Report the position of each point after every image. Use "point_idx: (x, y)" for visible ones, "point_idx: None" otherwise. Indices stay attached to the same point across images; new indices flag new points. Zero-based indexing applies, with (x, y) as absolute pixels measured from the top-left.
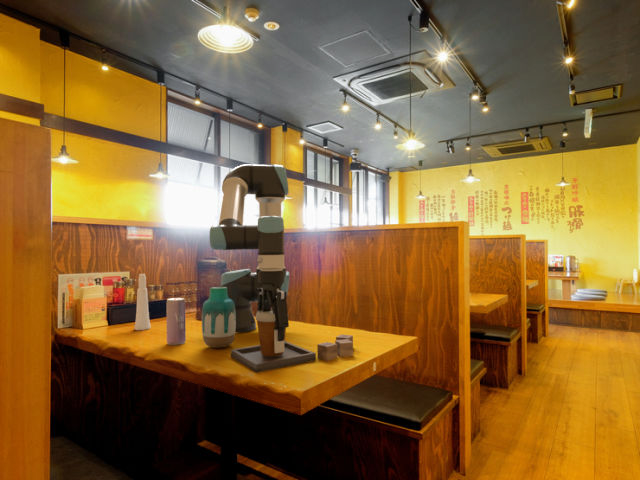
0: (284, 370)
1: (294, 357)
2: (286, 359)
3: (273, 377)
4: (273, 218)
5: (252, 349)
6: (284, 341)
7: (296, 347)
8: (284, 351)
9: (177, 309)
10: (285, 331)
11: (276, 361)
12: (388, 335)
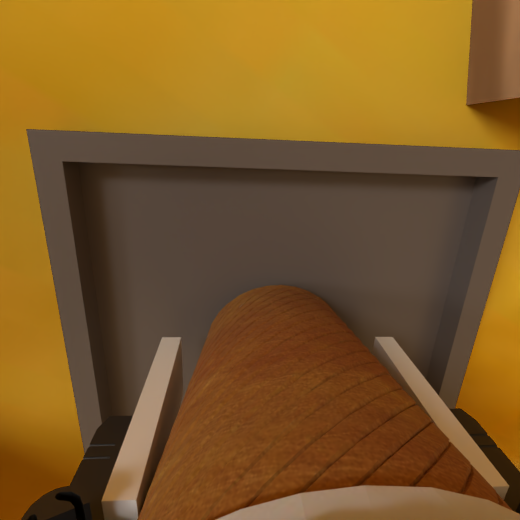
0: (481, 368)
1: (481, 312)
2: (466, 357)
3: (511, 434)
4: None
5: (105, 394)
6: (349, 331)
7: (290, 168)
8: (238, 240)
9: None
10: (397, 385)
11: (452, 408)
12: None
